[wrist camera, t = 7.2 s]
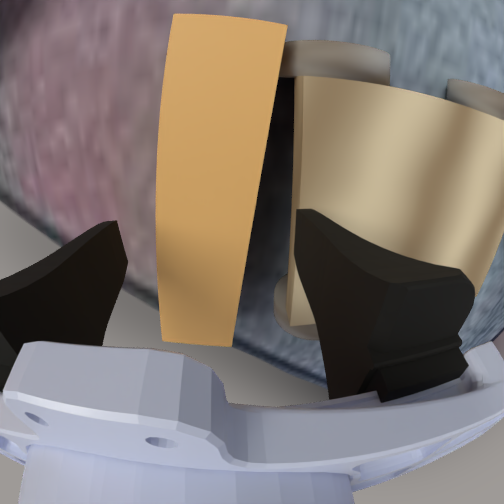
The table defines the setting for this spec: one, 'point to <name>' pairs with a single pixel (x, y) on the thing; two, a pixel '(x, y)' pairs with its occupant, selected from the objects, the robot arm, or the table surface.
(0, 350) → the robot arm
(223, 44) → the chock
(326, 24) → the table surface
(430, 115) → the trolley
